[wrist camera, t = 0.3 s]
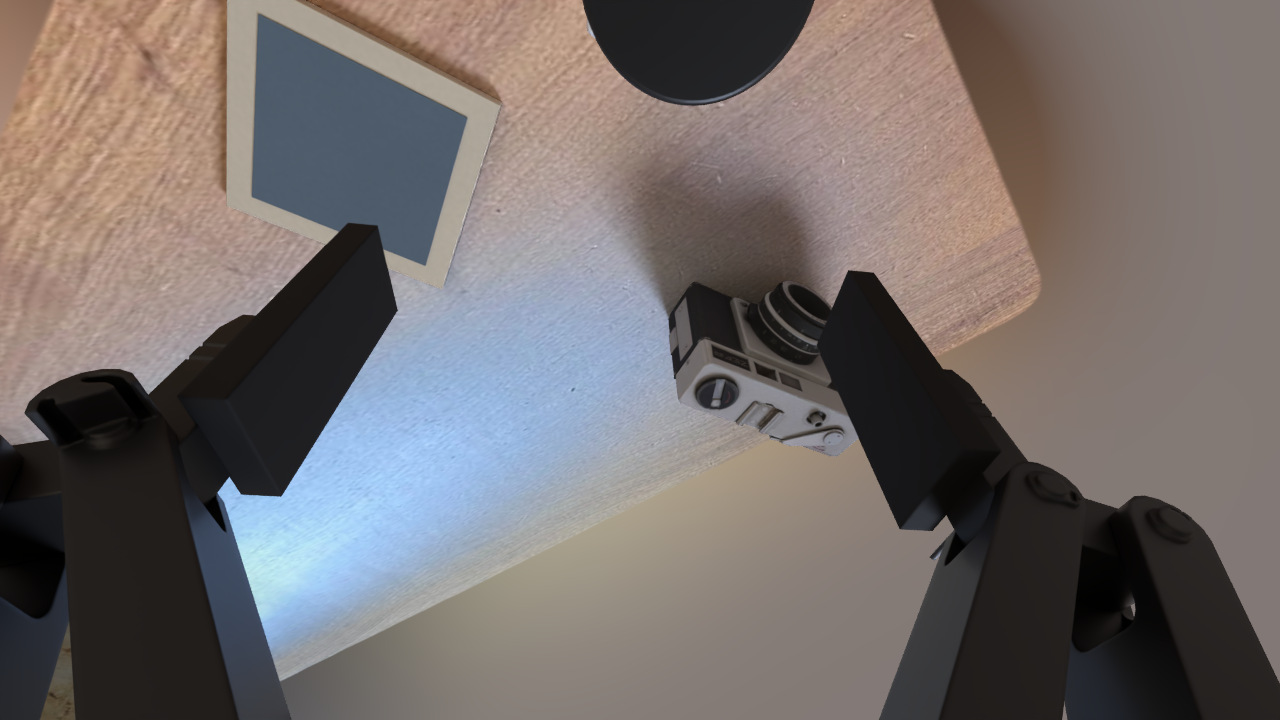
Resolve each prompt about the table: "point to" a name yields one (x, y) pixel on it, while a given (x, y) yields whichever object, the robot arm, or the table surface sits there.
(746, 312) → the camera
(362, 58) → the tile
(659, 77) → the jar
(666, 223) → the table surface
